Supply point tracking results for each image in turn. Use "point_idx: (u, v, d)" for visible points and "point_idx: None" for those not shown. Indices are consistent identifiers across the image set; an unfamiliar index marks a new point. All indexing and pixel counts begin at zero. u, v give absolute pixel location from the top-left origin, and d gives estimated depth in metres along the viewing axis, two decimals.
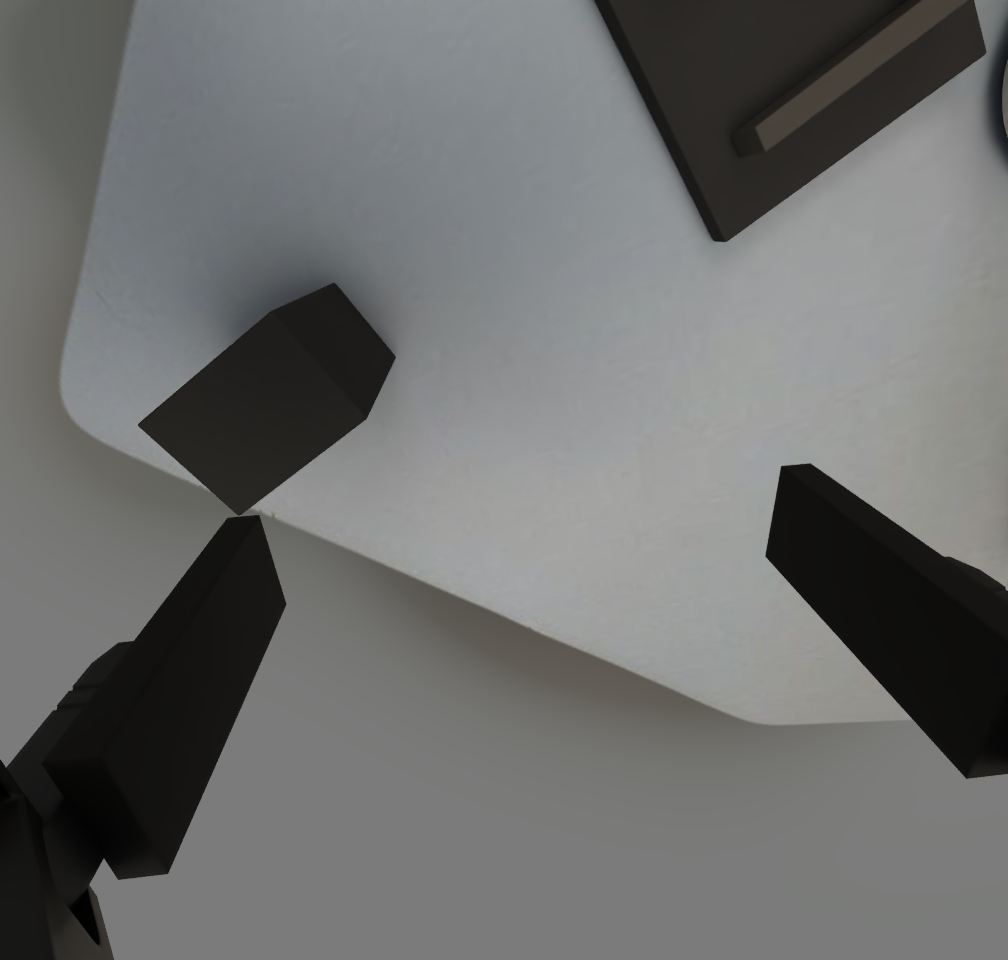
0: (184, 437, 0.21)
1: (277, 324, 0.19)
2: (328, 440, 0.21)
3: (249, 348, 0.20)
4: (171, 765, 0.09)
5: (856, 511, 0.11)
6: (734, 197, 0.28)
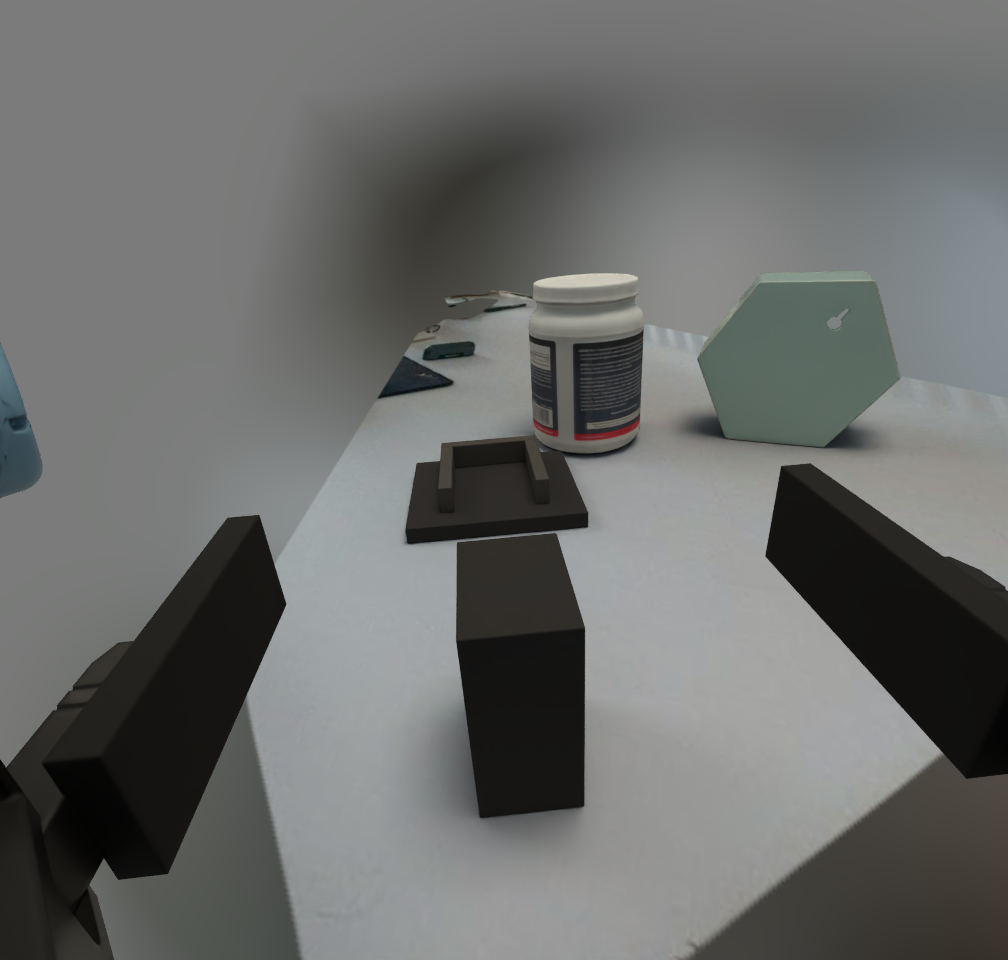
0: (491, 619, 0.22)
1: (466, 542, 0.27)
2: (557, 553, 0.26)
3: (466, 558, 0.26)
4: (171, 765, 0.09)
5: (856, 511, 0.11)
6: (566, 506, 0.49)
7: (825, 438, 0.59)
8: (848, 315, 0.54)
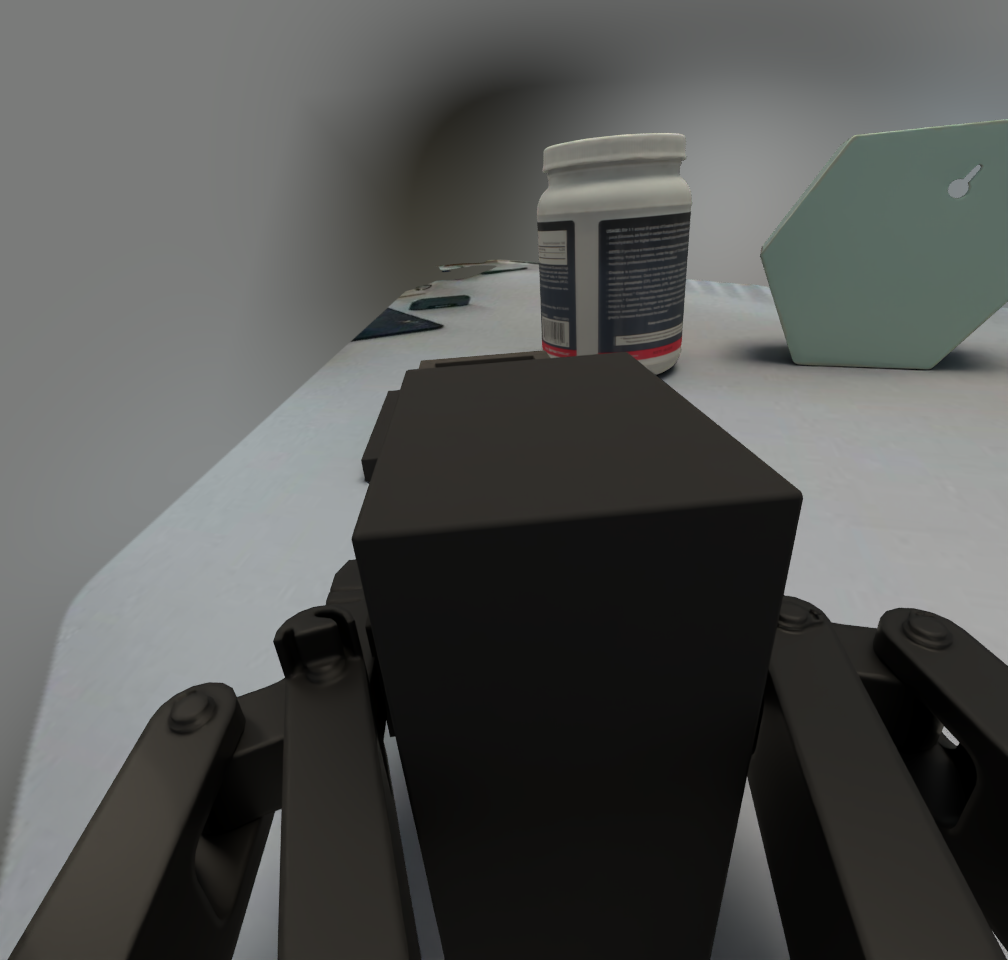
0: (478, 483, 0.07)
1: (425, 369, 0.12)
2: (642, 372, 0.11)
3: (422, 387, 0.11)
4: None
5: None
6: None
7: (933, 356, 0.44)
8: (981, 174, 0.39)
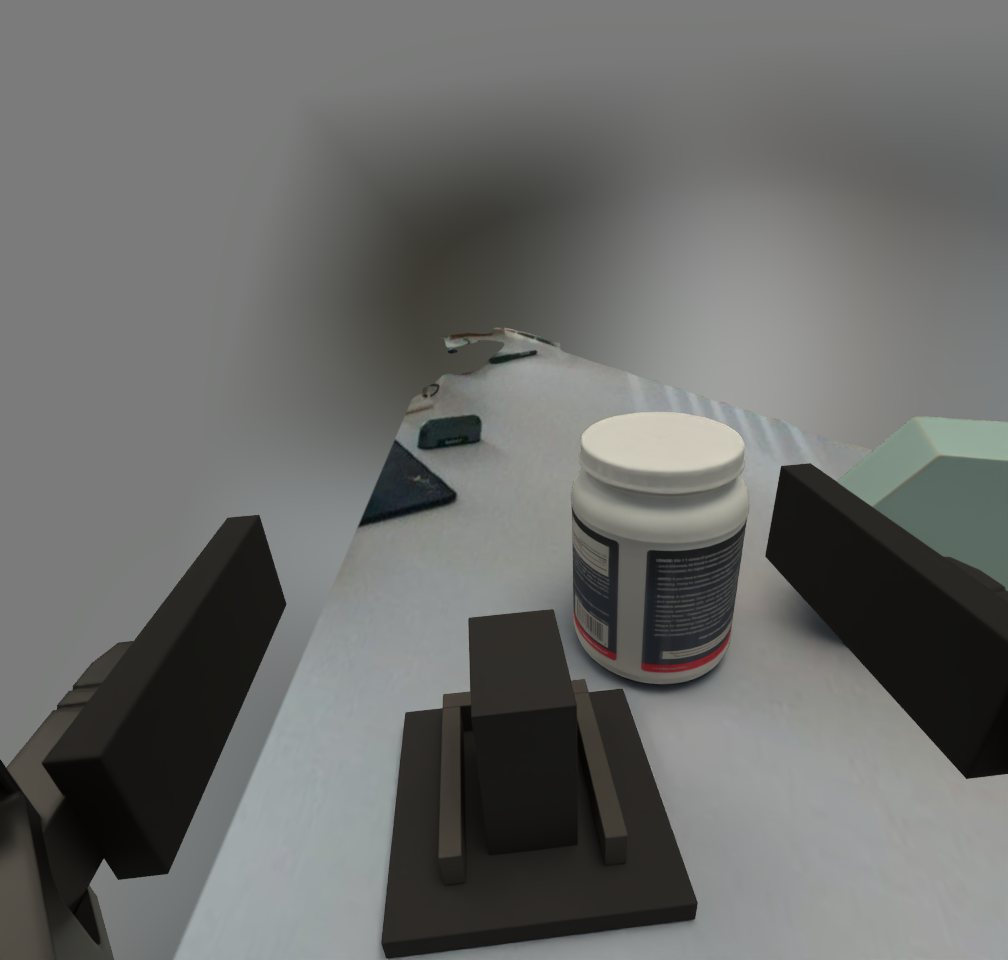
0: (499, 696, 0.26)
1: (476, 618, 0.32)
2: (554, 630, 0.30)
3: (477, 635, 0.30)
4: (171, 765, 0.09)
5: (856, 511, 0.11)
6: (657, 879, 0.29)
7: None
8: None
